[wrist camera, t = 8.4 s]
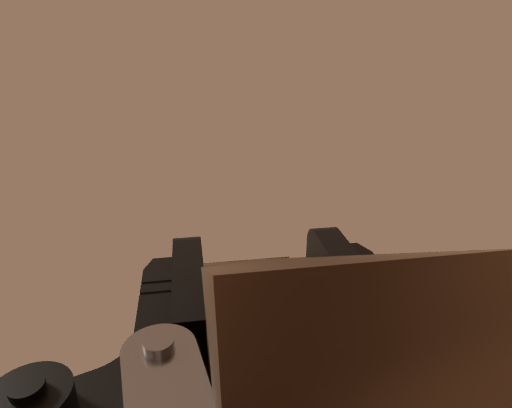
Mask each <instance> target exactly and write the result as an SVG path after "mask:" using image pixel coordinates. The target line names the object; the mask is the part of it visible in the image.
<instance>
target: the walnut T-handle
mask: <svg viewBox="0 0 512 408" xmlns="http://www.w3.org/2000/svg"><path fill="white" fill-rule="evenodd" d="M201 272H202V283H203V294H204V305H205V316H206V332H207V352H208V371H209V381H210V384H211V387H212V391H213V402H214V408H512V249H495V250H474V251H473V250H471V251H448V252H423V253H400V254H375V255H351V256H329V257H303V258H289V257H278V258H266V259H253V260H242V261H228V262H217V263H204V264H203V267H201Z"/></svg>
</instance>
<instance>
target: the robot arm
mask: <svg viewBox="0 0 512 408" xmlns="http://www.w3.org/2000/svg"><path fill="white" fill-rule="evenodd" d="M351 255H374V254H373V252H372V251H370V250H368V249H366V248H365V247H363V246H361V245H360V244H358V243H349V242H348V240H347V239H346V238H345V237H344V235H343V234H342V233H341V231H340V230H339V229H338V228H337V227H330V228H317V229H310V230H309V232H308V235H307V250H306V257H329V256H351ZM201 267H203V257H202V247H201V238H200V237H188V238H174V239H173V253H172V257H168V258H155V259H152V261H151V262H150V263H149V264H148V265H147V266H146V267H145V269H144V270H143V276H142V285H141V289H140V296H139V302H138V309H137V315H136V322H135V329H134V334H133V335H131V336H130V337H129V338H128V339H127V340H126V341H125V342H124V344H123V345H122V347H121V350H120V356H119V357H118V358H117V359H115V360H114V361H112V362H110V363H108V364H106V365H105V366H103V367H100V368H98V369H95V370H92V371H89V372H86V373H83V374H80V375H78V376H75V377H73V374H72V372H71V370H70V369H69V368H68V367H67V366H65V365H63V364H61V363H57V362H52V361H42V362H35V363H30V364H27V365H24V366H21V367H18V368H17V369H14V370H12V371H10V372H8V373H6V374H5V375H3V376H2V377H0V408H214V402H213V391H212V387H211V384H210V381H209V371H208V352H207V332H206V316H205V305H204V294H203V283H202V272H201Z"/></svg>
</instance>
